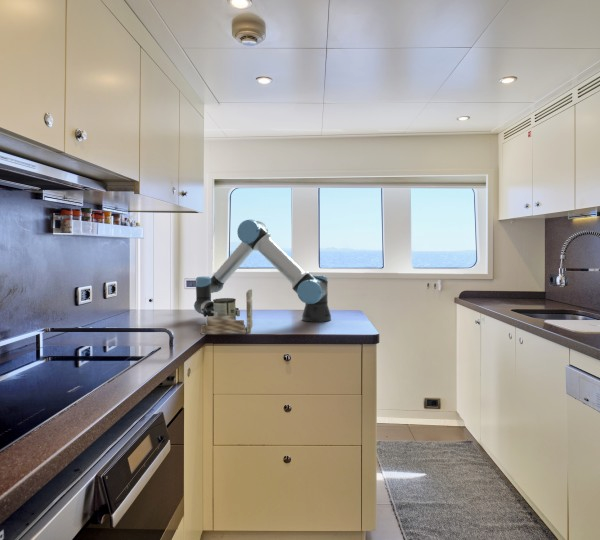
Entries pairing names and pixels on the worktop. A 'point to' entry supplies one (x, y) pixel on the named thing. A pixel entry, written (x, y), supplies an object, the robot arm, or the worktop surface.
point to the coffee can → (225, 307)
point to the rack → (249, 318)
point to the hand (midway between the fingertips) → (228, 314)
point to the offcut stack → (223, 323)
